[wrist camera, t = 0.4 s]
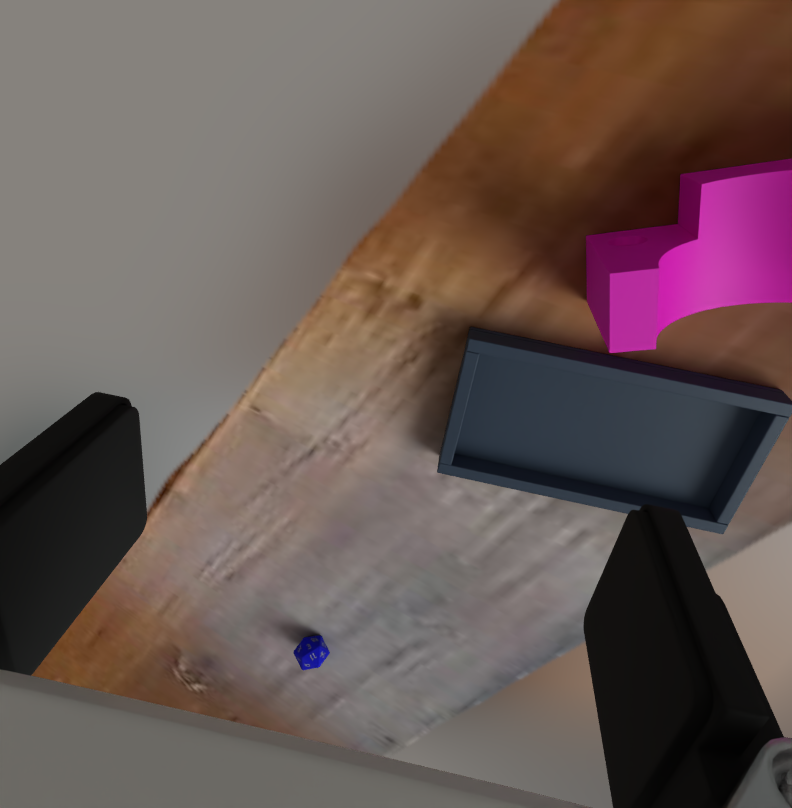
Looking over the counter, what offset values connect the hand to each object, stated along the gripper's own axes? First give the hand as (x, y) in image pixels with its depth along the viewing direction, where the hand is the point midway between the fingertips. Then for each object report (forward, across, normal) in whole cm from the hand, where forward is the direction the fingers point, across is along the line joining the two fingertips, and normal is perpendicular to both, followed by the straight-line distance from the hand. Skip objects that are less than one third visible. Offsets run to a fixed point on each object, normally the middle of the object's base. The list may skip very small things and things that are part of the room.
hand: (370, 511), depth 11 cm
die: (+25, +5, +36) cm, 44 cm away
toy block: (+25, -15, -3) cm, 29 cm away
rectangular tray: (+25, -11, +10) cm, 30 cm away
